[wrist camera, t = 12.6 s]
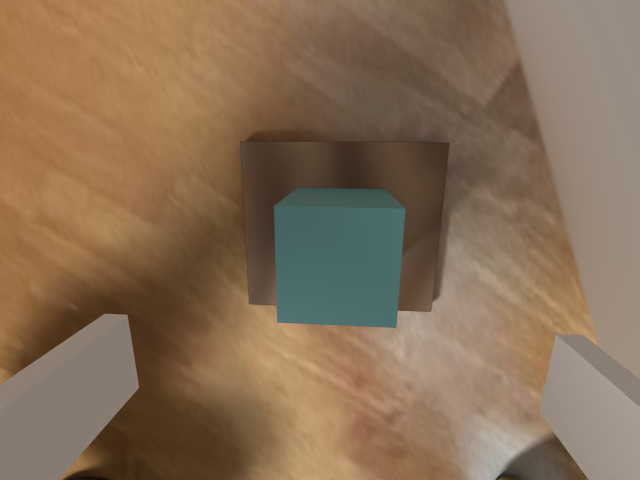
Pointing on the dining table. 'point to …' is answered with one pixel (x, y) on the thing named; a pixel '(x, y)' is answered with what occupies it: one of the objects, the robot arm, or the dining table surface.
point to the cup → (509, 478)
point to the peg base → (346, 173)
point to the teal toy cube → (338, 257)
